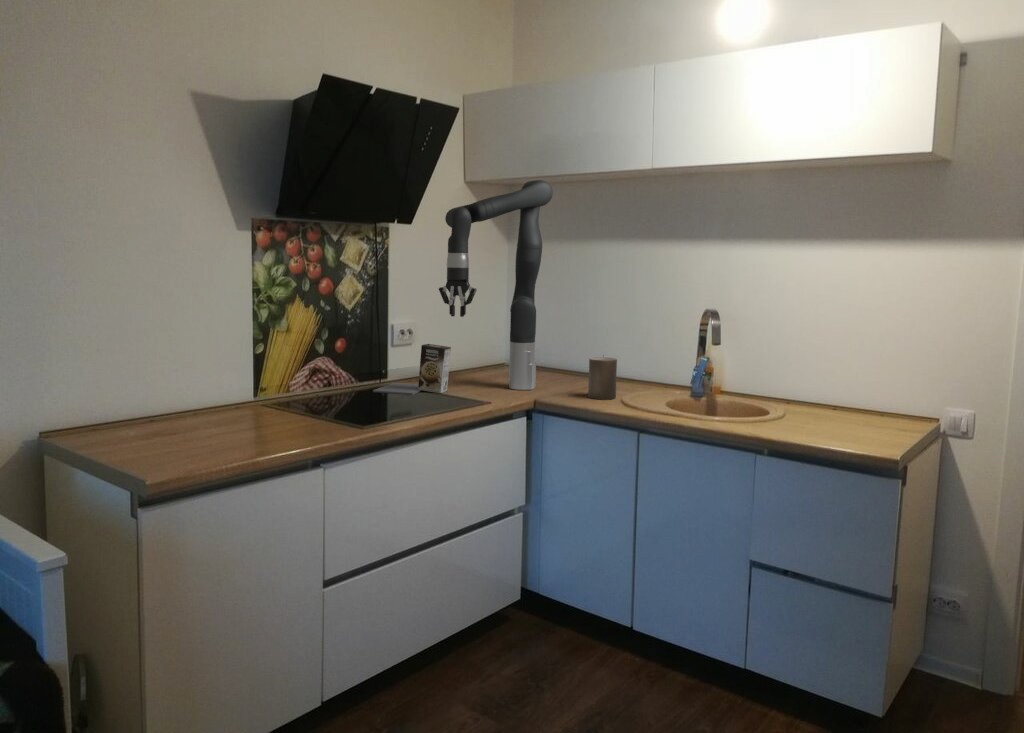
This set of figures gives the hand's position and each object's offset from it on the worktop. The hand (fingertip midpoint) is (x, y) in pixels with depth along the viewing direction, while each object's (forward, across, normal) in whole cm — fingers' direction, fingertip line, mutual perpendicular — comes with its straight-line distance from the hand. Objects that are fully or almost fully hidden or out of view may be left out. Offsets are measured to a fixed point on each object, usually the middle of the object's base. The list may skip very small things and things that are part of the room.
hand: (457, 316), depth 263 cm
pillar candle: (+27, -50, -10) cm, 58 cm away
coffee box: (+27, +9, 0) cm, 29 cm away
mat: (+27, +20, 0) cm, 34 cm away
